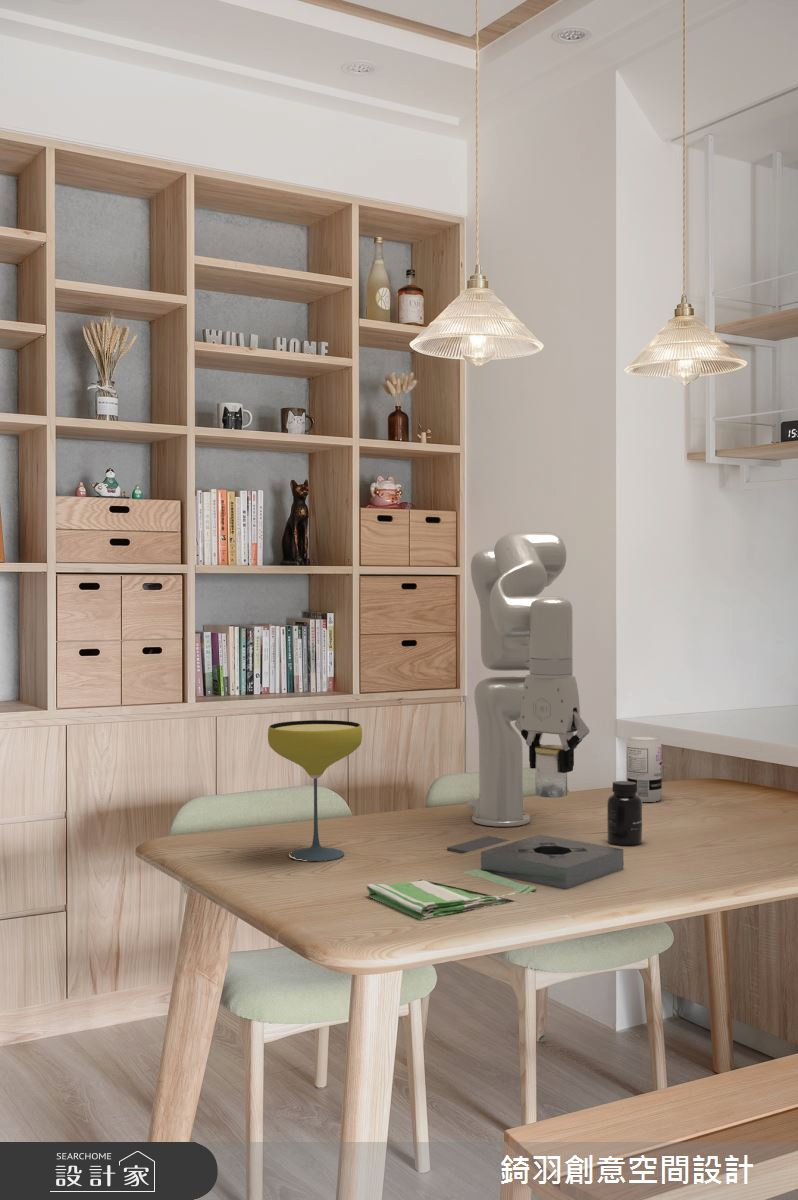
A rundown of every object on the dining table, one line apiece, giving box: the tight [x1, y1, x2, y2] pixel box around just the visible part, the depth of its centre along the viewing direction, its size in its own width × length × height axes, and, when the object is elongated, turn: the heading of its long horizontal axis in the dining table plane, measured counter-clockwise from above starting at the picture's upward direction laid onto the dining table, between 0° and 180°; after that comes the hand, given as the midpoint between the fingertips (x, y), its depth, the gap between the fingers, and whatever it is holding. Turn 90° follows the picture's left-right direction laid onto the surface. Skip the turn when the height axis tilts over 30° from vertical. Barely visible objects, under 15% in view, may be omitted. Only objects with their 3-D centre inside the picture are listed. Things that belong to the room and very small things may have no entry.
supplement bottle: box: [606, 780, 643, 847], centre depth 223 cm, size 7×7×12 cm
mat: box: [446, 835, 510, 854], centre depth 218 cm, size 13×13×1 cm
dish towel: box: [365, 868, 537, 921], centre depth 185 cm, size 18×23×3 cm
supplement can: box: [625, 735, 663, 803], centre depth 268 cm, size 8×8×15 cm
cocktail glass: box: [267, 719, 363, 862], centre depth 214 cm, size 18×18×25 cm
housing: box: [480, 834, 624, 890], centre depth 198 cm, size 18×18×4 cm
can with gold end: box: [534, 744, 568, 799], centre depth 198 cm, size 6×6×8 cm
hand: (551, 768), depth 198 cm, fingers closed on can with gold end, 5 cm apart
